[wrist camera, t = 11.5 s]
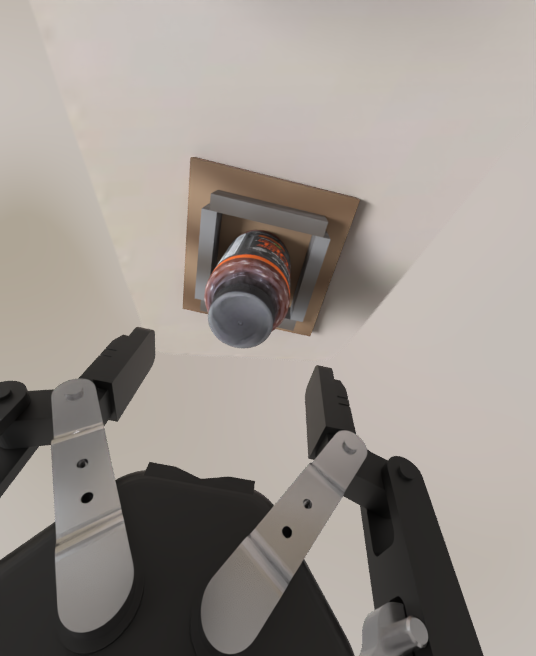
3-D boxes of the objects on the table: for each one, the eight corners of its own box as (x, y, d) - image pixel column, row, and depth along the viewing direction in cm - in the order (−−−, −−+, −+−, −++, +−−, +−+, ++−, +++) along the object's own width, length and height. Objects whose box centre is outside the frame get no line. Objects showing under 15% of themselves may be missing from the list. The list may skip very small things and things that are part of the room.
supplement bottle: (304, 254, 26) (312, 317, 16) (265, 300, 28) (253, 376, 19) (250, 212, 24) (225, 254, 14) (215, 265, 27) (174, 329, 17)
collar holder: (194, 157, 23) (179, 158, 20) (357, 197, 24) (367, 205, 21) (186, 303, 30) (174, 320, 27) (309, 330, 31) (311, 350, 28)
